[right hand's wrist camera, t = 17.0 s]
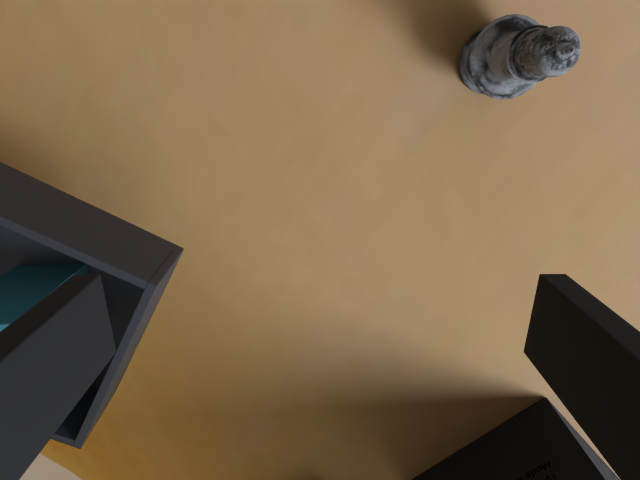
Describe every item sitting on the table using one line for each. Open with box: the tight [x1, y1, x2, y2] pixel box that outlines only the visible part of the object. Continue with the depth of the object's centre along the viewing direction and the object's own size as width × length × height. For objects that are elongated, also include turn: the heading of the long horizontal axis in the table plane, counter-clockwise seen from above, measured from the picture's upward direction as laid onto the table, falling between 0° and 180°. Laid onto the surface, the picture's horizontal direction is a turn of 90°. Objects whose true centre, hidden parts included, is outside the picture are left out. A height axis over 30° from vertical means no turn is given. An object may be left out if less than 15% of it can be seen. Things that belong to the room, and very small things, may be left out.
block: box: [0, 263, 89, 332], centre depth 27 cm, size 5×5×8 cm
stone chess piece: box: [459, 14, 581, 99], centre depth 29 cm, size 6×6×12 cm
